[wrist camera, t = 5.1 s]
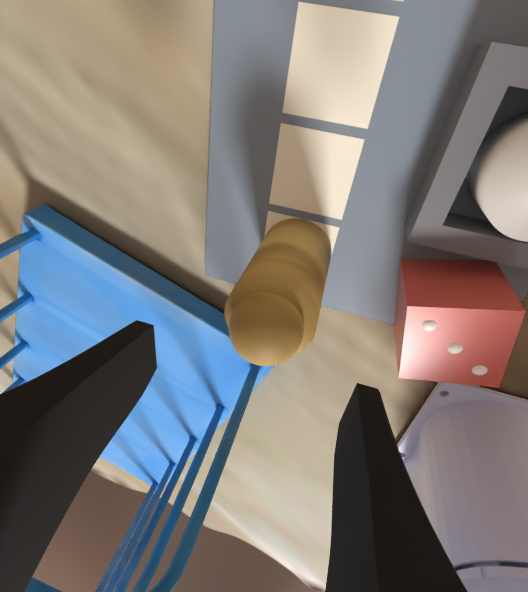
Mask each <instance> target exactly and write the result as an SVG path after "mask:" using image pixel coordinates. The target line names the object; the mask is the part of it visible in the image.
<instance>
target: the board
mask: <svg viewBox="0 0 528 592" xmlns="http://www.w3.org/2000/svg"><path fill="white" fill-rule="evenodd" d="M487 42H496V43H503V44H509V45H516V46H522V47H528V0H215V5H214V33H213V61H212V89H211V116H210V144H209V172H208V199H207V227H206V255H205V276H208V277H212V278H216V279H220V280H224V281H228V282H231V283H235V284H237V282H238V280H239V279H240V277H241V275H242V274H243V272H244V270H245V269H246V267H247V265H248V264H249V262H250V260H251V259H252V257H253V255H254V254H255V252H256V250H257V249H258V247H259V245H260V244H261V242H262V240H263V239H264V237H265V235H266V234H267V232H268V231H269V229H270V228H271V227H272V226H273V225H275V224H276V223H278V222H280V221H282V220H285V219H291V218H299V219H304V220H308V221H310V222H312V223H314V224H316V225H317V226H318V227H320V228H321V229H322V230H323V231H324V232H325V234H326V235H327V237H328V239H329V241H330V244H331V251H332V252H331V259H330V264H329V269H328V274H327V279H326V283H325V288H324V293H323V298H322V303H321V306H324V307H327V308H331V309H335V310H339V311H343V312H347V313H350V314H354V315H358V316H362V317H366V318H370V319H373V320H377V321H381V322H385V323H389V324H393V325H394V322H395V312H396V302H397V292H398V282H399V272H400V263H401V259H451V260H484V259H480V258H475V257H471V256H467V255H462V254H458V253H454V252H449V251H445V250H441V249H436V248H432V247H427V246H423V245H419V244H414V243H410V242H407V237H406V232H405V226H404V225H405V222H406V220H407V217H408V215H409V212H410V210H411V207H412V205H413V202H414V200H415V198H416V195H417V193H418V190H419V188H420V185H421V183H422V180H423V178H424V175H425V173H426V170H427V168H428V165H429V163H430V160H431V158H432V155H433V153H434V150H435V148H436V146H437V143H438V141H439V138H440V136H441V133H442V131H443V128H444V126H445V123H446V121H447V118H448V116H449V113H450V111H451V108H452V106H453V103H454V101H455V98H456V96H457V93H458V91H459V89H460V86H461V84H462V81H463V79H464V76H465V74H466V71H467V69H468V66H469V64H470V61H471V59H472V56H473V54H474V51H475V49H476V46H477V44H479V43H487ZM525 112H528V89H524V88H518V87H512V86H508V88H507V90H506V92H505V94H504V97H503V99H502V101H501V103H500V105H499V107H498V109H497V111H496V113H495V116H494V118H493V120H492V122H491V124H490V126H489V128H488V130H487V132H486V135H485V137H484V139H483V141H482V143H483V142H484V141H485V139H486V138H487V137H488V136H489V135H490V134H491V133H492V132H493V131H494V130H495V129H497V128H498V127H499V126H501V125H502V124H503V123H505V122H507V121H508V120H510V119H512V118H514V117H516V116H518V115H520V114H523V113H525ZM482 143H481V144H482ZM480 146H481V145H480ZM469 170H470V168H469ZM469 170H468V172H467V175H466V177H465V179H464V181H463V183H462V185H461V187H460V189H459V191H458V194H457V196H456V198H455V200H454V202H453V204H452V206H451V208H450V210H449V212H450V213H454V214H459V215H464V216H468V217H473V218H478V219H482V220H487V221H489V219H488V218H487V217H486V215H485V214H484V213H483V211H482V210H481V208H480V207H479V206H478V204H477V203H476V201H475V200H474V198H473V196H472V194H471V192H470V188H469ZM497 264H498V266H499V267H500V269H501V271H502V272H503V274H504V276H505V277H506V279H507V281H508V282H509V284H510V286H511V287H512V289H513V291H514V292H515V294H516V296H517V297H518V299H519V300H520V302H522V300H523V299H524V297H525V296H526V295H527V293H528V269H523V268H519V267H515V266H510V265H506V264H502V263H497Z"/></svg>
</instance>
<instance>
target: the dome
mask: <svg viewBox="0 0 528 592" xmlns="http://www.w3.org/2000/svg"><path fill="white" fill-rule="evenodd" d="M469 188H470V192H471V194H472V196H473V198H474V200H475V201H476V203H477V204H478V206H479V207H480V208H481V210H482V211H483V213H484V214H485V215H486V217H487V218H488V219H489V221H490V222H491V224H492V225H493V226H494V227H495V228H496V229H497V230H498V231H499V232H501V233H502V234H504V235H506V236H508V237H510V238H512V239H516V240H519V241H525V242H528V112H525V113H523V114H520V115H518V116H516V117H514V118H512V119H510V120H508V121H507V122H505V123H503V124H502V125H501V126H499V127H498V128H497V129H495V130H494V131H493V132H492V133H491V134H490V135H489V136H488V137H487V138H486V139H485V141H484V142H483V143H482V144H481V146H480V147H479V149H478V151H477V153H476V156H475V158H474V160H473V162H472V164H471V166H470V170H469Z"/></svg>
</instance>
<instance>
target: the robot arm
mask: <svg viewBox="0 0 528 592" xmlns="http://www.w3.org/2000/svg"><path fill="white" fill-rule="evenodd" d="M156 369H157V361H156V348H155V335H154V325H152V324H149V323H145V322H142V321H138V320H136V321H134V322H132V323H131V324H129V325H127V326H126V327H124V328H122V329H121V330H119V331H117V332H116V333H114V334H112V335H111V336H109V337H107V338H106V339H104V340H102V341H101V342H99V343H97V344H96V345H94V346H92V347H91V348H89V349H87V350H85V351H84V352H82V353H80V354H78V355H77V356H75V357H73V358H72V359H70V360H68V361H66V362H64V363H62V364H61V365H59V366H57V367H55V368H53V369H51V370H49V371H47V372H46V373H44V374H42V375H40V376H38V377H36V378H34V379H32V380H30V381H28V382H26V383H24V384H22V385H20V386H18V387H15V388H13V389H11V390H9V391H7V392H4V393H2V394H0V592H25V590H26V588H27V586H28V584H29V582H30V580H31V578H32V576H33V574H34V572H35V570H36V568H37V566H38V564H39V562H40V560H41V558H42V556H43V554H44V553H45V551H46V548H47V547H48V545H49V543H50V541H51V539H52V537H53V535H54V534H55V532H56V530H57V528H58V526H59V524H60V523H61V521H62V519H63V517H64V515H65V513H66V512H67V510H68V508H69V506H70V504H71V503H72V501H73V499H74V497H75V496H76V494H77V492H78V491H79V489H80V487H81V485H82V484H83V482H84V480H85V479H86V477H87V475H88V473H89V472H90V470H91V468H92V467H93V465H94V464H95V462H96V461H97V459H98V458H99V456H100V455H101V453H102V452H103V451H104V449H105V448H106V446H107V445H108V444H109V442H110V441H111V439H112V438H113V437H114V435H115V434H116V432H117V431H118V430H119V428H120V427H121V425H122V424H123V423H124V421H125V420H126V418H127V417H128V415H129V414H130V413H131V411H132V410H133V408H134V407H135V405H136V404H137V403H138V401H139V400H140V398H141V397H142V395H143V393H144V392H145V390H146V388H147V386H148V384H149V383H150V381H151V379H152V377H153V375H154V373H155V371H156ZM441 391H445V392H441ZM325 592H528V400H527V399H523V398H520V397H516V396H512V395H509V394H505V393H501V392H498V391H494V390H490V389H487V388H483V387H480V386H476V385H467V384H456V383H446V382H438V383H437V385H436V386H435V388H434V389H433V391H432V392H431V394H430V395H429V397H428V398H427V400H426V402H425V403H424V405H423V406H422V408H421V409H420V411H419V412H418V414H417V415H416V417H415V418H414V420H413V421H412V423H411V424H410V426H409V427H408V429H407V430H406V432H405V433H404V435H403V436H402V438H401V439H400V441H399V442H398V444H397V443H396V441H395V438H394V435H393V432H392V429H391V426H390V423H389V420H388V417H387V414H386V411H385V408H384V405H383V401H382V398H381V394H380V392H379V390H378V389H376V388H373V387H369V386H366V385H362V384H359V383H357V385H356V387H355V389H354V391H353V394H352V396H351V398H350V400H349V403H348V405H347V407H346V409H345V411H344V414H343V416H342V418H341V420H340V423H339V428H338V435H337V441H336V448H335V455H334V477H333V505H332V533H331V548H330V559H329V567H328V575H327V583H326V591H325Z"/></svg>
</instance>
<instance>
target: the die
mask: <svg viewBox="0 0 528 592" xmlns="http://www.w3.org/2000/svg"><path fill="white" fill-rule="evenodd" d="M525 313H526V310H525V309H524V307H523V305H522V304H521V302H520V300H519V299H518V297H517V296H516V294H515V292H514V291H513V289H512V287H511V286H510V284H509V282H508V281H507V279H506V277H505V276H504V274H503V272H502V271H501V269H500V267H499V266H498V264H497V262H493V261H489V260H451V259H401V263H400V272H399V282H398V292H397V302H396V312H395V322H394V327H395V340H396V352H397V364H398V377H399V378H404V379H414V380H425V381H435V382H446V383H456V384H467V385H477V386H487V387H498V388H499V387H500V384H501V381H502V378H503V375H504V372H505V370H506V367H507V364H508V361H509V358H510V355H511V353H512V350H513V347H514V344H515V341H516V338H517V335H518V333H519V330H520V327H521V324H522V321H523V318H524V316H525Z"/></svg>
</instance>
